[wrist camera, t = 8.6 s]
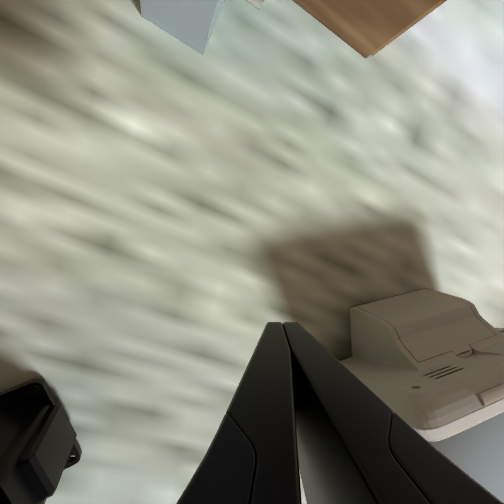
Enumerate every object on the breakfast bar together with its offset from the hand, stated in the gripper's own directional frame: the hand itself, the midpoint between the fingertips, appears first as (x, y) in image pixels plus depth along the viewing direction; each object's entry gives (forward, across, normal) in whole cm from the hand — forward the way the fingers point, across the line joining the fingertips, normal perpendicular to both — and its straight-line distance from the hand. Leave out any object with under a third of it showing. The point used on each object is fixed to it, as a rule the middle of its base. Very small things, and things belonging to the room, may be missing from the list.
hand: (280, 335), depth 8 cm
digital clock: (+15, -13, +12) cm, 23 cm away
